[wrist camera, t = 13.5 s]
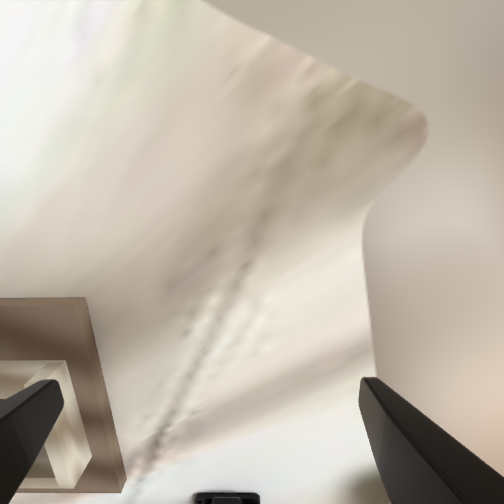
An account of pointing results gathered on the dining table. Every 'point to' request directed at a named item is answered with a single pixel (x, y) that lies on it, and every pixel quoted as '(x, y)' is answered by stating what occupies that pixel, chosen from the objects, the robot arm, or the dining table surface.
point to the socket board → (73, 389)
